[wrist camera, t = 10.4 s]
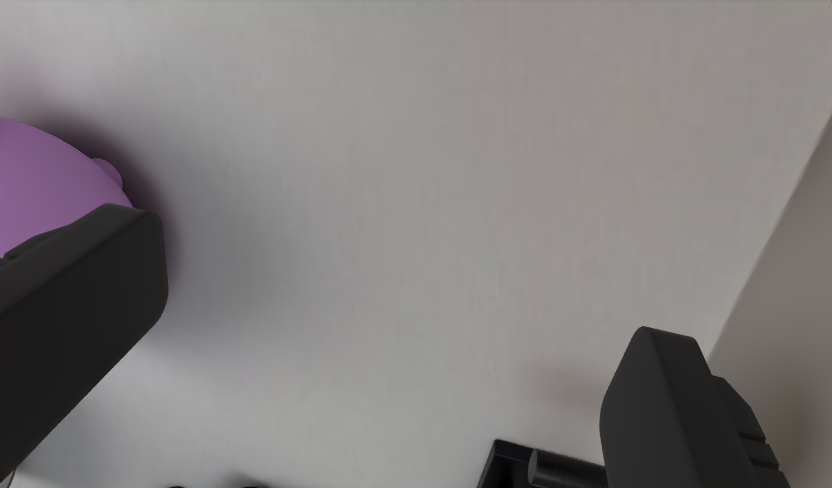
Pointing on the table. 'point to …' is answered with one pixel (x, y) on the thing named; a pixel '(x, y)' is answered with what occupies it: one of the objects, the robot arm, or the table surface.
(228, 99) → the table surface
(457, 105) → the table surface
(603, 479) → the lever
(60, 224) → the teapot
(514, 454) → the bracket
